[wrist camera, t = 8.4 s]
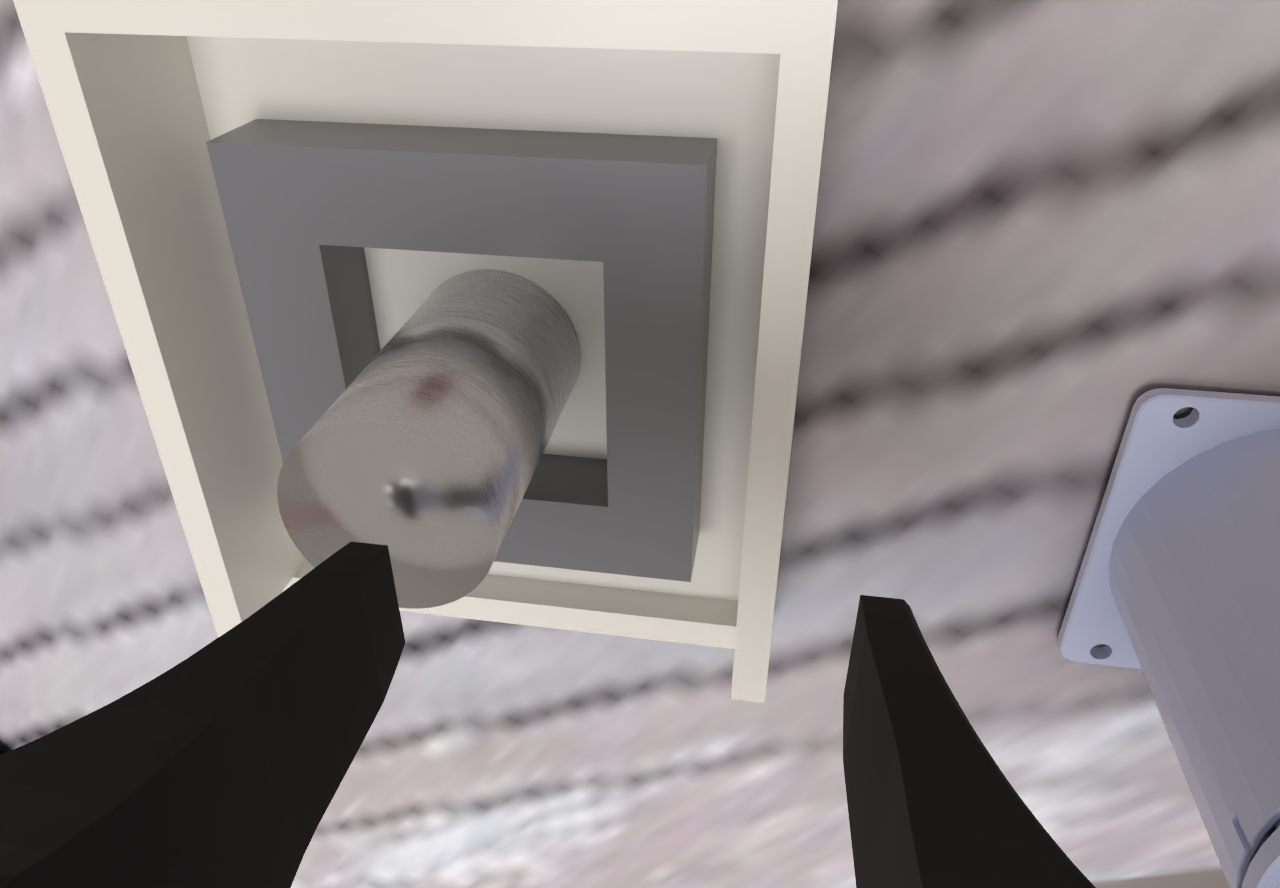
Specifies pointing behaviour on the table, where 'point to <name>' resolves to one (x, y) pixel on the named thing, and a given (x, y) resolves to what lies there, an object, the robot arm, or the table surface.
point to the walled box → (467, 265)
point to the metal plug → (437, 436)
